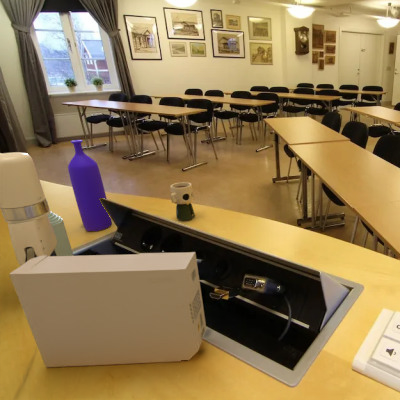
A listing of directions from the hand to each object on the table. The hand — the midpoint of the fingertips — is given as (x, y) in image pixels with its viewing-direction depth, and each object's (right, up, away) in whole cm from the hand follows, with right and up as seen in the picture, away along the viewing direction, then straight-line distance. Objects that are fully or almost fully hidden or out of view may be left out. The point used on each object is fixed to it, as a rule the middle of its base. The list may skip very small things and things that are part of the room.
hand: (51, 280), depth 76 cm
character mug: (+14, +12, +43) cm, 47 cm away
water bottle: (-8, +1, +12) cm, 15 cm away
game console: (+28, -10, -15) cm, 33 cm away
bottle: (-13, +10, +35) cm, 38 cm away
